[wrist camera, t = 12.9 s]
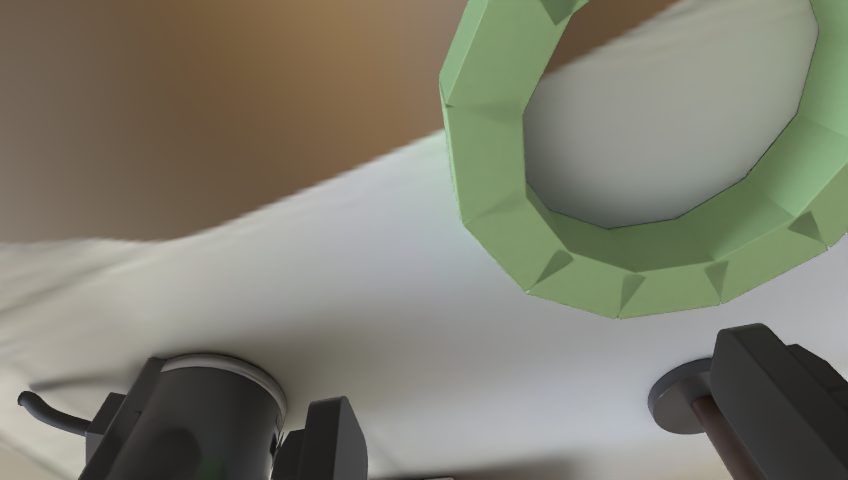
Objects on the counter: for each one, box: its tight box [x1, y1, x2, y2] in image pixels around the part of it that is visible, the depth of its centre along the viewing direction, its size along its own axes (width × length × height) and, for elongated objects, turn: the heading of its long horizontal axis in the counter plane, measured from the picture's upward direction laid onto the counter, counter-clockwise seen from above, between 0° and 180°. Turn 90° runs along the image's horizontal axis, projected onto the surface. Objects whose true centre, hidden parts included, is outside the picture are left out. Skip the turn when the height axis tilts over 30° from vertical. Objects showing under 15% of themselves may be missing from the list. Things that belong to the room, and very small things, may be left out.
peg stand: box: [648, 359, 768, 480], centre depth 31 cm, size 7×7×10 cm
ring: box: [439, 0, 848, 319], centre depth 21 cm, size 20×20×4 cm
